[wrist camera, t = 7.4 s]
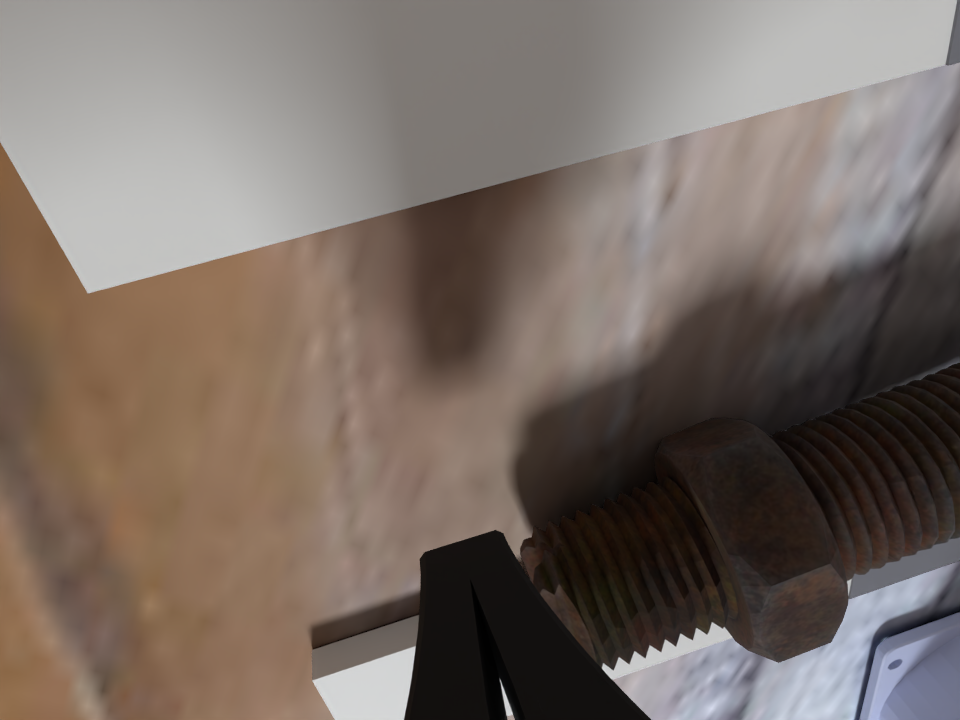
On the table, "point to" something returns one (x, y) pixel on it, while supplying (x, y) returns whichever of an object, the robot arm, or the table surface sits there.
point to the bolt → (758, 527)
